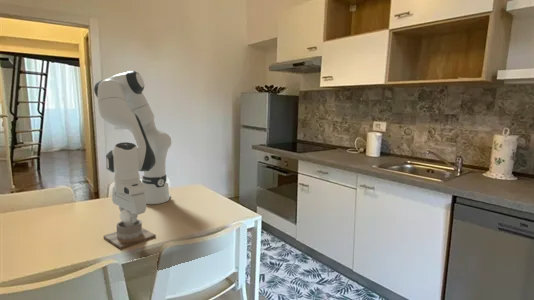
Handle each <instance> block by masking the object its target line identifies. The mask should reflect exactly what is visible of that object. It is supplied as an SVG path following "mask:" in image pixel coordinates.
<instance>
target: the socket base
mask: <svg viewBox="0 0 534 300" xmlns="http://www.w3.org/2000/svg"><path fill="white" fill-rule="evenodd" d="M142 223H143V222H142V220H140V219H138V218H137V221H136V222H134V226H131V227H125V225H124V223H123V222H122V220H121V221H119V222H118V223H116V231H114V232H111V233H107V234H104V235H103V239H104V240H106V241H107V242H109V243H110V244H112V245H113V246H115V247H116V248H117V249H119V250H123V249H126V248H128V247H131V246H134V245H137V244H141V243H143V242H145V241H149V240H152V239H154V238H156V236H157V235H156V234H155V233H153V232H151V231H150V230H147V229H145V228H143V227H142V226H143V224H142Z"/></svg>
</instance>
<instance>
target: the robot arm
mask: <svg viewBox="0 0 534 300" xmlns="http://www.w3.org/2000/svg"><path fill="white" fill-rule="evenodd" d="M144 82H145V81H144V78H142V76H141V74H140V73H139V72H137V71H135V70H128V71H126V72H121V73H118V74H114V75H112V76H110V77H108V78H105V79H103V80H102V79H101V80H99V81H98V82H96V83H95V85H94V88H93V91H94V94H95V96H96V98H97V106H98V111H99V114H100V117H101V118H102V120H103V121H105V122H107V123H108V124H110V125H113V126H117V127H120V128H123V129H126V130H128V131H130V133H132V135H133V138H134V141H135V142H136V143H133V142H126V141H125V142H119V143H118V142H117V144H115V145H114V149H112V150H109V151H108V152H107V154H106V155H105V159H106V170H108V171H109V172H111V173H113V174H114V180H113V182H114V186H113V188H112V192H111V193H112V197H111V199H112V203H113V204H114V205H116V206H118V209H119V211H120V213H121V211H122V210H123V209H126V210H128V211H130V212H131V214H132V217H131V218H130V219H131V220H130V221H131V222H133V223H134V222H136V221H137V219H138V217H139V215H142V214H144V213H146V211H147V205H159V204H164V203H166V202H168V201H170V198H171V194H170V189H169V188H170V187H169V183H168V182H167V180H168V179H167V174H166V160H167V159H166V158H167V155H168V154H167V153H168V150H169V149H170V147H171V145H172V138H171V136H170V135H169V134H167V133H166V132H165V131H163V130H159V129H157V127H156V123H155V115H154V111H153V110H152V108H151V106H150V104H149V102H148V100H147V99H146V97H145V95H144V93H143V91H144V89H145V83H144ZM139 172H143V175H142V176H141V177H140V173H139ZM140 178H141V179H142V180H140ZM137 216H138V217H137Z"/></svg>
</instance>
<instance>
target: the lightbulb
mask: <svg viewBox="0 0 534 300" xmlns="http://www.w3.org/2000/svg"><path fill="white" fill-rule="evenodd" d="M119 217H120V220H121V221H122V222H123V223H124V225H125V227H131V226H134V223H133V222H131V221H130V220H131V219H130V218H131V217H132V214H131V212H130V211H128V210H126V209H123V210H122V211H121V212H120V214H119ZM138 217H139V215H138V216H137V218H138Z"/></svg>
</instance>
